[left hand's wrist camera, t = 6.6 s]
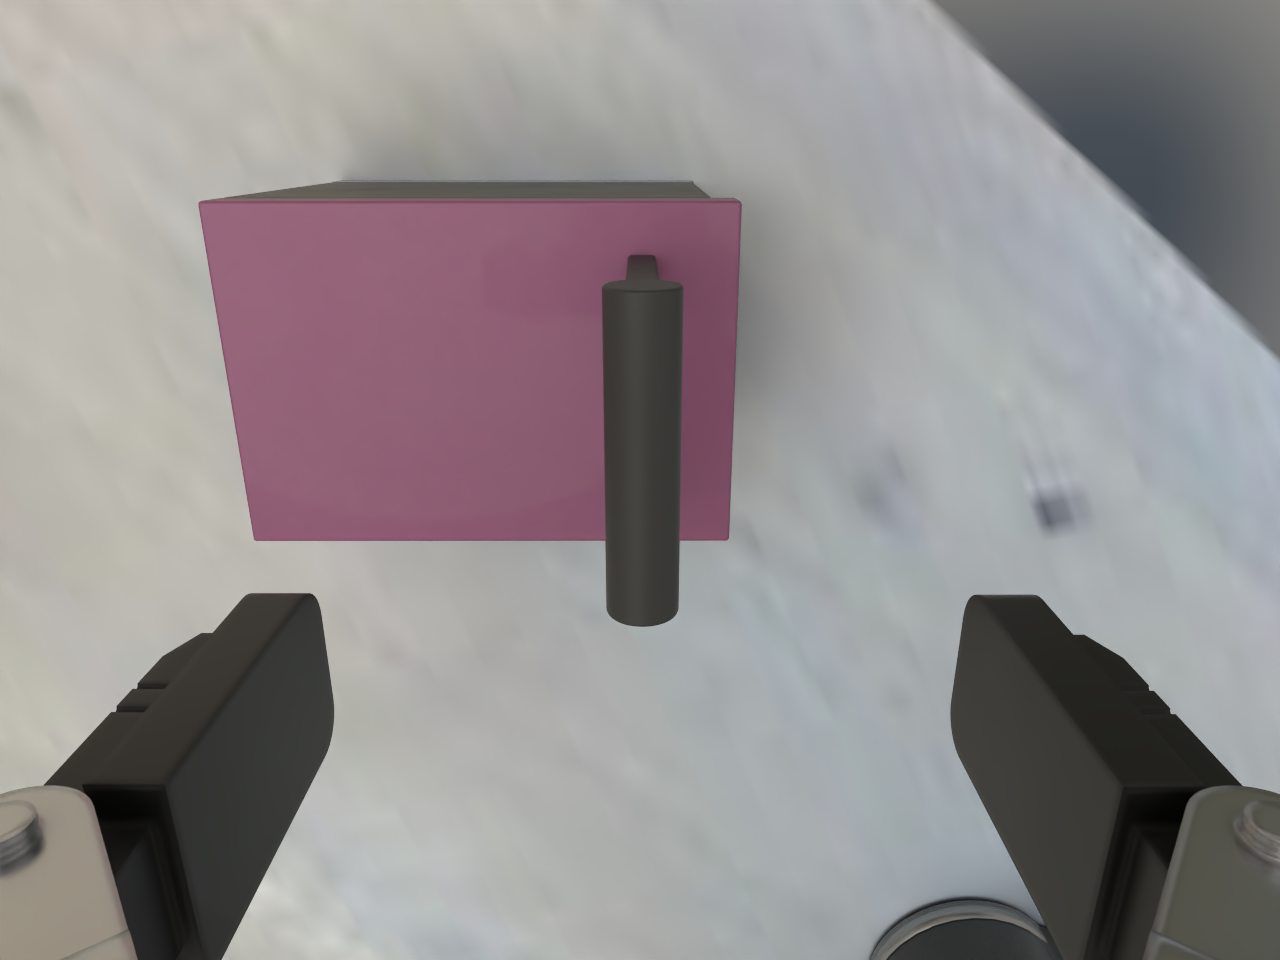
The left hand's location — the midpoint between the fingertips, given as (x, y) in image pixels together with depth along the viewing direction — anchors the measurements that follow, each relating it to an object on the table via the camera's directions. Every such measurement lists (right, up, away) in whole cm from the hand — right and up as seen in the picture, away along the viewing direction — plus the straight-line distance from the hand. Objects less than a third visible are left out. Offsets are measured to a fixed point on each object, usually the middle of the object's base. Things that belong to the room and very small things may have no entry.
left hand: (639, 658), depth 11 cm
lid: (-4, +5, +14) cm, 15 cm away
